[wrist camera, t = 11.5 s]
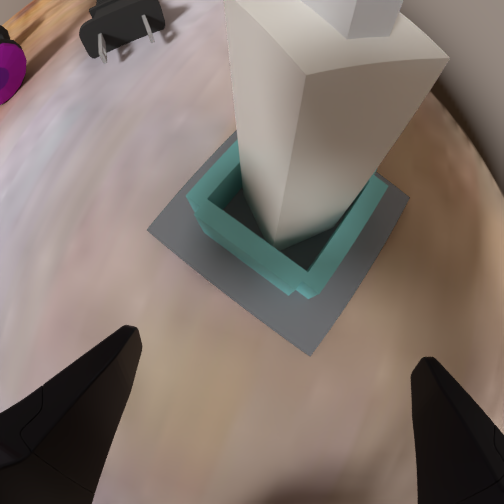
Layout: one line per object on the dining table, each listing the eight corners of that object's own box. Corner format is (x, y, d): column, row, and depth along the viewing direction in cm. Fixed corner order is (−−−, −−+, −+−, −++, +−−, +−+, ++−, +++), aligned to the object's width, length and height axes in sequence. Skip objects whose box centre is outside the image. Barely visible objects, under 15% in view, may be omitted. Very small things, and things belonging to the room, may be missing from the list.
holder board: (404, 202, 18) (431, 177, 15) (307, 354, 16) (321, 363, 13) (264, 109, 20) (265, 73, 16) (150, 233, 18) (127, 212, 14)
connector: (333, 227, 17) (475, 15, 3) (271, 254, 17) (318, 2, 3) (302, 171, 18) (360, -59, 4) (243, 194, 18) (217, -58, 4)
